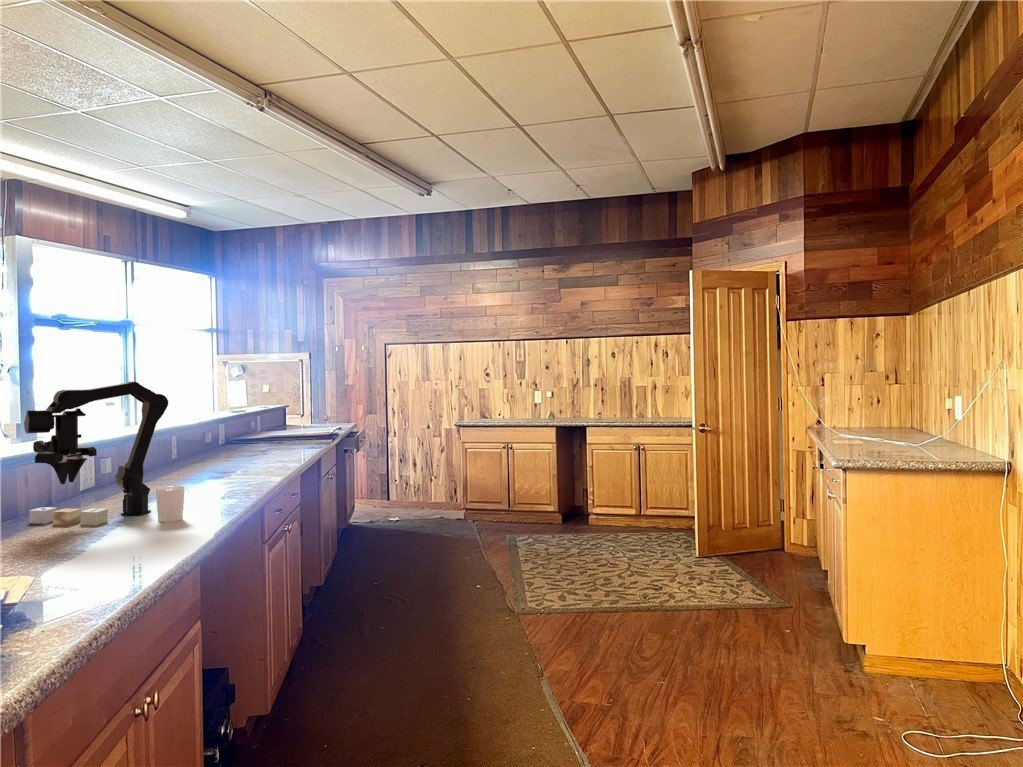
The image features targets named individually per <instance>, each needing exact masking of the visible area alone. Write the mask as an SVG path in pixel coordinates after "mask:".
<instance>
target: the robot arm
mask: <svg viewBox="0 0 1023 767" xmlns="http://www.w3.org/2000/svg"><path fill="white" fill-rule="evenodd" d="M128 395H131V397H133V398H134V399H136V400H137V401H139V402H140V403H141V404H142V406H141V421H140V425H139V428H138V431H137V434H136V437H135V439H134V442H133V444H132V448H131V451H130V454H129V457H128V460H127V462H126V463H125V464H124V466H123V465H118V468H117V473H116V475H115V476H114V478H115V479H116V481H115V484H116V485H117V487H118V488H119V489H121V490H122V493H123V499H122V512H121V513H120V516H142V515H145V514H148V513H151V512H152V510H151V509H149V495H150V494H149V493H150V491H151V488H150V487H148V486H147V485H146V484H144V482H143V480H144V463H145V460H146V456H147V454H148V451H149V447H150V444H151V441H152V438H153V436H154V432H155V429H156V426H157V423H158V422H159V421H160V419H161V418H162V416H163V415H164V414H165V412H166V410H167V408H168V406H169V400H168V398H167V396H165V395H164V394H162V393H161V394H160V393H156V392H155V391H152V390H151V389H148V388H147V387H145V386H143V385H142V384H140V383H139V382H137V381H127V382H124V383H119V384H117V383H116V384H112V385H106V386H100V387H95V388H89V389H61V390H58V391H56V393H55V394H54V396H53V401H52V402H51V403H50V404H49V405H48V407H46V409H45V410H43V409H42V410H40V409H39V410H33V409H27V410H26V414H25V417H24V421H23V428H24V432H25V434H44V433H45V434H46V433H50V432H51V430H54V428H55V430H54V431H55V435H54V434H53V435H51V437H50V440H49V441H44V440H36V441H34V442H33V446H32V448H33V449H32V450H33V452H34V453H36V455H35V456H34V464H47V465H50V466H51V467H52V468H53V470H54V472H55V473H56V476H57V478H58V481H59V483H60V485H65V484H66V482H67V479H68V482H69V483H74V481H75V479H76V478H77V475H78V473H79V472H80V470H81V468H82V467H83V465H84V463H85V462H86V461H88V457H91V458H92V457H95V456H96V457H97V449H96V447H94V446H79V439H82V434H80V433H79V432H78V431H79V419H78V418H79V417H85V416H86V415H87V414H86V413H84V411H83V410H81V408H79V407H82V406H84V405H87V404H89V403H92V402H96V401H102V400H106V399H107V400H108V399H114V398H116V397H117V398H118V397H123V396H128ZM73 409H74V410H73ZM61 413H62V414H61ZM84 456H88V457H87V458H85V457H84Z"/></svg>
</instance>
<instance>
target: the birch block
mask: <svg viewBox="0 0 1023 767" xmlns="http://www.w3.org/2000/svg"><path fill="white" fill-rule="evenodd" d="M81 512H82V509H81V508H62V509H57V511H54V512H53V522H52V523H53V526H55V525H56V526H58V525H59V526H70V525H74V524H78V523H81Z"/></svg>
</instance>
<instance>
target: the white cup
mask: <svg viewBox="0 0 1023 767" xmlns="http://www.w3.org/2000/svg"><path fill="white" fill-rule="evenodd" d="M155 492H156V493H155V496H156V510H157V521H158V522H160V523H174V522H180V521H182V520H183V515H184V514H183V513H184V512H183V511H184V502H185V486H182V485H168V486H166V485H164V486H159V487H157V488H156V489H155Z"/></svg>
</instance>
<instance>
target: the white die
mask: <svg viewBox="0 0 1023 767" xmlns="http://www.w3.org/2000/svg"><path fill="white" fill-rule="evenodd" d="M54 511H58V507H49V506H47V507H46V506H42V507H41V506H40V507H37V508H33V509H29V524H40V523H41V524H42V525H43V524H44V525H45V524H49V523H51V522H52V521H53V512H54ZM52 523H53V522H52Z"/></svg>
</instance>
